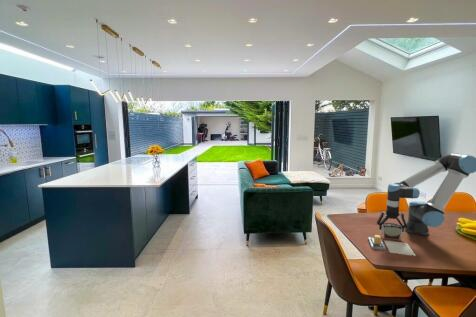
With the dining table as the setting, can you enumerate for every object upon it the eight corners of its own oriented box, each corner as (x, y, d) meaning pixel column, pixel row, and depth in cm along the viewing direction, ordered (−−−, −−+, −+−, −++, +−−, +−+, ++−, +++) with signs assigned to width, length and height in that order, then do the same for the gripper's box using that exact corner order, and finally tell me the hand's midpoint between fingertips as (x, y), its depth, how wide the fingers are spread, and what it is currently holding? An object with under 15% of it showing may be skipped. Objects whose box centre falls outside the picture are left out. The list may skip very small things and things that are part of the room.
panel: (380, 240, 178) (380, 237, 177) (385, 250, 164) (385, 247, 163) (368, 239, 180) (368, 236, 180) (371, 248, 166) (371, 245, 166)
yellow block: (379, 242, 171) (379, 235, 170) (380, 244, 167) (380, 237, 167) (373, 241, 172) (374, 234, 171) (375, 244, 168) (375, 237, 168)
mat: (407, 243, 173) (407, 243, 173) (415, 256, 156) (415, 255, 156) (383, 240, 177) (383, 240, 177) (390, 252, 161) (390, 252, 161)
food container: (399, 236, 184) (400, 223, 183) (401, 240, 178) (402, 226, 177) (380, 234, 188) (381, 221, 187) (381, 238, 182) (382, 224, 181)
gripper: (410, 205, 180) (408, 235, 182) (373, 202, 188) (371, 231, 190) (414, 208, 173) (411, 239, 175) (375, 205, 181) (373, 235, 183)
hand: (390, 235), depth 183 cm, fingers closed on food container, 11 cm apart
